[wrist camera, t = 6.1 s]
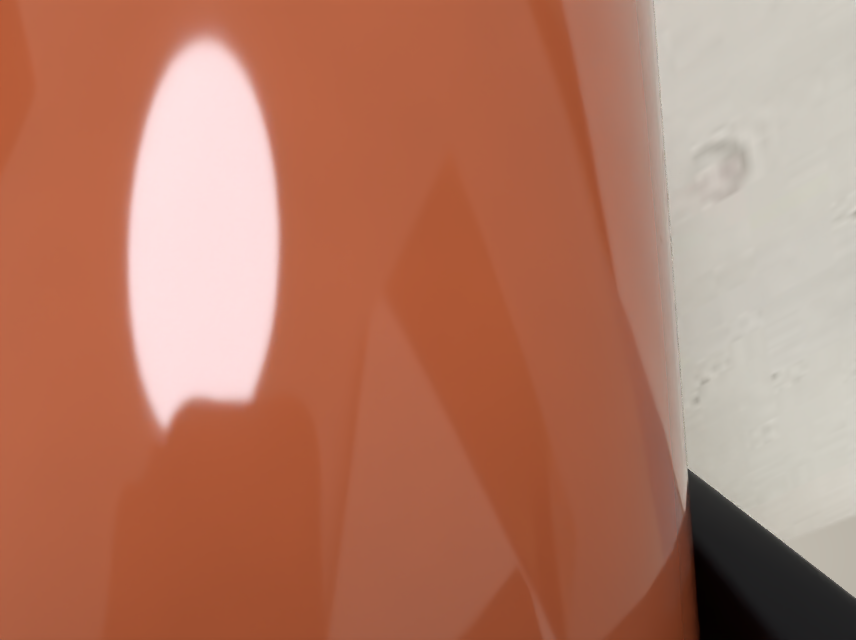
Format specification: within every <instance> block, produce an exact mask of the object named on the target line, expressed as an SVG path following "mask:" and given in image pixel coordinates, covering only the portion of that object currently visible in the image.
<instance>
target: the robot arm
mask: <svg viewBox="0 0 856 640" xmlns="http://www.w3.org/2000/svg"><path fill="white" fill-rule="evenodd" d="M687 469H688V468H687ZM688 483H689V497H690V511H691V525H692V539H693V553H694V567H695V580H696V594H697V608H698V622H699V636H700V640H856V598H855V597H853V596H852V595H851V594H849V593H848V592H847V591H845V590H844V589H843V588H842V587H840V586H839V585H838V584H836V583H835V582H834V581H833V580H831V579H830V578H829V577H827V576H826V575H825V574H823V573H822V572H821V571H820V570H818V569H817V568H816V567H814V566H813V565H812V564H811V563H809V562H808V561H807V560H805V559H804V558H803V557H801V556H800V555H799V554H798V553H796V552H795V551H794V550H792V549H791V548H790V547H789V546H787V545H786V544H785V543H783V542H782V541H781V540H780V539H778V538H777V537H776V536H774V535H773V534H772V533H770V532H769V531H768V530H767V529H765V528H764V527H763V526H761V525H760V524H759V523H758V522H756V521H755V520H754V519H752V518H751V517H750V516H748V515H747V514H746V513H745V512H743V511H742V510H741V509H739V508H738V507H737V506H736V505H734V504H733V503H732V502H730V501H729V500H728V499H726V498H725V497H724V496H723V495H721V494H720V493H719V492H717V491H716V490H715V489H714V488H712V487H711V486H710V485H708V484H707V483H706V482H705V481H703V480H702V479H701V478H699V477H698V476H697V475H695V474H694V473H693V472H692V471H690V470H689V469H688Z"/></svg>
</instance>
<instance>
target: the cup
mask: <svg viewBox="0 0 856 640" xmlns="http://www.w3.org/2000/svg"><path fill="white" fill-rule="evenodd" d="M0 640H700V636H699V622H698V608H697V594H696V580H695V567H694V553H693V539H692V525H691V511H690V497H689V483H688V469H687V455H686V442H685V428H684V414H683V400H682V386H681V372H680V358H679V344H678V331H677V317H676V303H675V289H674V275H673V261H672V247H671V233H670V219H669V206H668V192H667V178H666V164H665V150H664V136H663V122H662V108H661V94H660V81H659V67H658V53H657V39H656V25H655V11H654V0H0Z"/></svg>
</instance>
